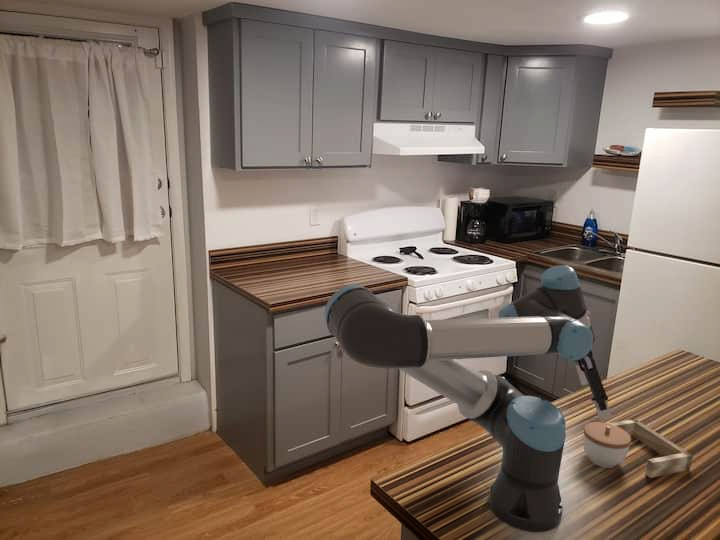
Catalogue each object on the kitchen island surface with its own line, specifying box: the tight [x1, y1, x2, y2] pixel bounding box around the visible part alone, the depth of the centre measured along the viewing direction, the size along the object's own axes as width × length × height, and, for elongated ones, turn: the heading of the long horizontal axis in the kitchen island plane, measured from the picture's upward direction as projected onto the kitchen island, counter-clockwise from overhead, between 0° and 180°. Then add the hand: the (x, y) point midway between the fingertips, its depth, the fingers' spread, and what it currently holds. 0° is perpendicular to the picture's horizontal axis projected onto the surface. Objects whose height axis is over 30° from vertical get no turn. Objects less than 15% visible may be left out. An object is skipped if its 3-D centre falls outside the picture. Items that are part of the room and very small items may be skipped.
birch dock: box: [607, 418, 693, 479], centre depth 143 cm, size 12×18×4 cm
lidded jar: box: [582, 421, 632, 469], centre depth 139 cm, size 11×11×9 cm
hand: (595, 399), depth 137 cm, fingers open, 13 cm apart
